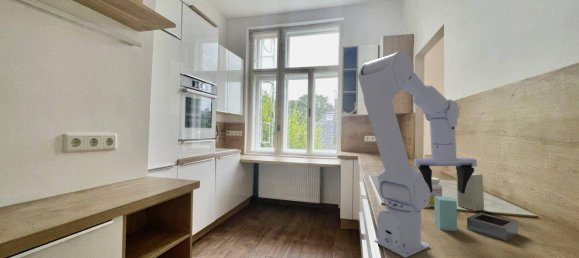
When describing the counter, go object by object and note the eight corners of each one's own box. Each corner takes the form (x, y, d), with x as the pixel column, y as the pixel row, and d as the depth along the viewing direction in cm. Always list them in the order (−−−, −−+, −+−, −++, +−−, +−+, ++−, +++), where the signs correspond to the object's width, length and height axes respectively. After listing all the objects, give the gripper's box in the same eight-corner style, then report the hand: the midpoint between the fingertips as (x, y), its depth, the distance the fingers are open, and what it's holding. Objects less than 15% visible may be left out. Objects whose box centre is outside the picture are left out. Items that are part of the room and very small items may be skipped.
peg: (457, 231, 59) (456, 201, 59) (439, 229, 60) (439, 200, 61) (450, 225, 63) (450, 197, 63) (434, 223, 64) (434, 195, 64)
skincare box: (484, 210, 75) (484, 174, 75) (475, 211, 74) (474, 175, 74) (465, 204, 81) (464, 171, 81) (456, 205, 80) (455, 171, 80)
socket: (506, 241, 54) (506, 228, 54) (467, 228, 61) (466, 217, 61) (518, 233, 58) (517, 222, 58) (480, 222, 65) (479, 212, 65)
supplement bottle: (425, 201, 84) (425, 176, 85) (442, 204, 81) (442, 178, 81) (423, 205, 80) (423, 178, 80) (441, 208, 77) (441, 180, 77)
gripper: (467, 141, 63) (469, 188, 64) (410, 143, 68) (412, 187, 68) (480, 143, 57) (482, 196, 57) (416, 145, 61) (419, 194, 61)
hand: (445, 191), depth 62 cm, fingers open, 7 cm apart
